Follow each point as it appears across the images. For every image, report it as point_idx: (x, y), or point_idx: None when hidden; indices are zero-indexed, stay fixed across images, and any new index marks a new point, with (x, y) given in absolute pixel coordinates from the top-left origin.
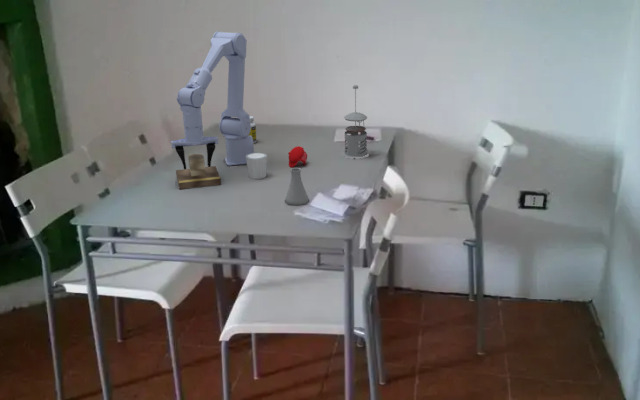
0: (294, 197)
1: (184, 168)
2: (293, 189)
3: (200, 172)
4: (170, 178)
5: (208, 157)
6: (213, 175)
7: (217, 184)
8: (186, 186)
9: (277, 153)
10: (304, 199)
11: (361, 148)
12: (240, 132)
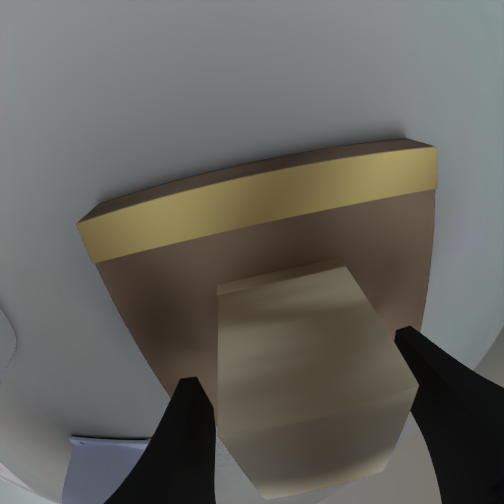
0: None
1: (414, 329)
2: None
3: (265, 301)
4: (427, 326)
5: (176, 454)
6: (156, 300)
7: (120, 198)
8: (367, 145)
9: (55, 463)
10: None
11: None
12: None
